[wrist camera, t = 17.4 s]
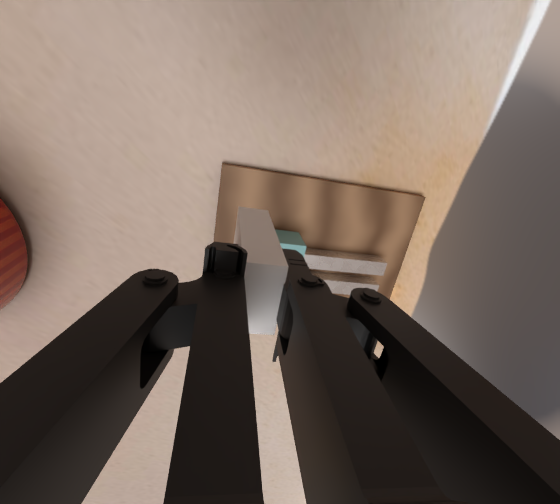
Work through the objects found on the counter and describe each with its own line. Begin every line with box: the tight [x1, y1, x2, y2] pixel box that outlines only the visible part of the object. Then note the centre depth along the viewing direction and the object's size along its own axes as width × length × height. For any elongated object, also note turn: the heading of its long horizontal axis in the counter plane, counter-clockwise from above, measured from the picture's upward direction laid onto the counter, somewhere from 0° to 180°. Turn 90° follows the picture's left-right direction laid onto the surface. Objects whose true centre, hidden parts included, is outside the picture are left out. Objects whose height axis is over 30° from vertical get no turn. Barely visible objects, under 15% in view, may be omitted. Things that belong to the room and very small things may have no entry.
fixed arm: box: [311, 271, 379, 295], centre depth 46 cm, size 23×2×2 cm, turn 80°
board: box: [214, 163, 425, 299], centre depth 46 cm, size 28×19×1 cm
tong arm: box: [304, 248, 387, 276], centre depth 45 cm, size 19×3×3 cm, turn 80°
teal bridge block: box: [275, 229, 307, 257], centre depth 43 cm, size 4×10×5 cm, turn 170°
